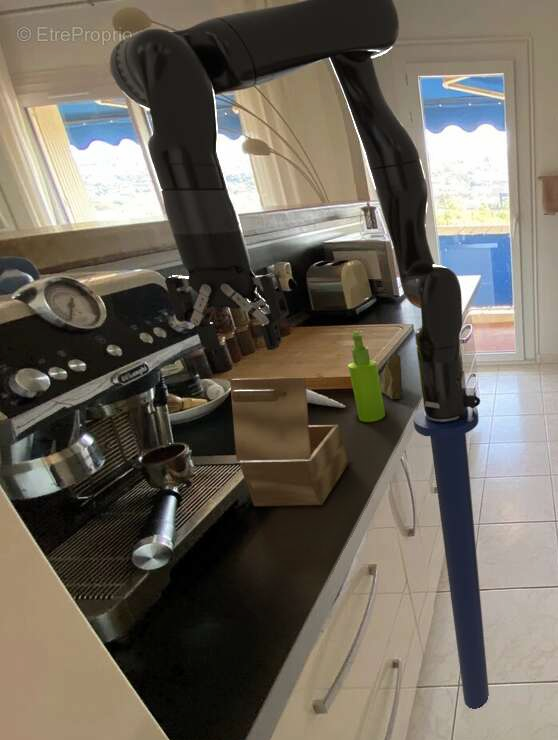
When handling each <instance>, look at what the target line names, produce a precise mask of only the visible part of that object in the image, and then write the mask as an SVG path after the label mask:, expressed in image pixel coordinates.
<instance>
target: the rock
mask: <svg viewBox="0 0 558 740" xmlns="http://www.w3.org/2000/svg"><path fill="white" fill-rule="evenodd" d="M380 387H381V392H382V393H383V394H384V395H386V396H387V397H389V398H390V399H391V400H400V399H401V398H402V362H401V355H399V354H398V353H396V352H392V354H390V356H389V359H388V361H387V363H386V365H385V366H384V369H383V370H382V372H381V375H380Z"/></svg>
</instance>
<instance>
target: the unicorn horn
mask: <svg viewBox="0 0 558 740" xmlns="http://www.w3.org/2000/svg"><path fill="white" fill-rule="evenodd" d="M306 393H307V404H313V405H317V406H318V405H319V406H324V407H325V406H326V407H333V408H347V406H346V405H344V404H343V403H341V402H339V401H337V400H334V399H332V398H329V397H328V396H325V395H323V394H319V393H318V392H315V391H313V390H311V389H307V388H306Z"/></svg>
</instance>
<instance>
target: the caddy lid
mask: <svg viewBox="0 0 558 740" xmlns="http://www.w3.org/2000/svg"><path fill="white" fill-rule="evenodd" d="M306 379H307V378H306V377H304V376H303V377H262V378H261V377H260V378H255V377H254V378H230V379H229V381H230V383H229V385H230V395H231V396H230V397H231V407H232V410H231V411H232V422H233V433H234V434H233V435H234V444H235V445H234V446H235V457H236V458H235V459H236V461H237V462H240V461H253V460H297V459H310V458H311V454H310V439H309V425H310V424H309V411H308V403H307V393H306V389H307V380H306Z"/></svg>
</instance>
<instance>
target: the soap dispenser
mask: <svg viewBox="0 0 558 740" xmlns="http://www.w3.org/2000/svg"><path fill="white" fill-rule="evenodd" d="M362 333H363V332H362V330H355V331H352V332H351V334H352V335H351V336H352V340H353V345H354V347H352V349H351V354H352V360H353V362H350V363H349V364H348V370H349V375H350V381H351V386H352V390H353V394H354V395H353V396H354V400H355V404H356V410H357V411H356V412H357V415H358V420H359V421H360V422H364V423H373V422H377V421H379V420H382V419H383V418H385V417H386V411H385V404H384V398H383V394H382V393H383V392H382V391H381V387H380V385H381V380H380V375H379V371H378V369H379V368H378V364H377V361H376V360H374V359H371V358H370V353H369V348H368V347H367V346H365V345H364V344H363V334H362Z"/></svg>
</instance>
